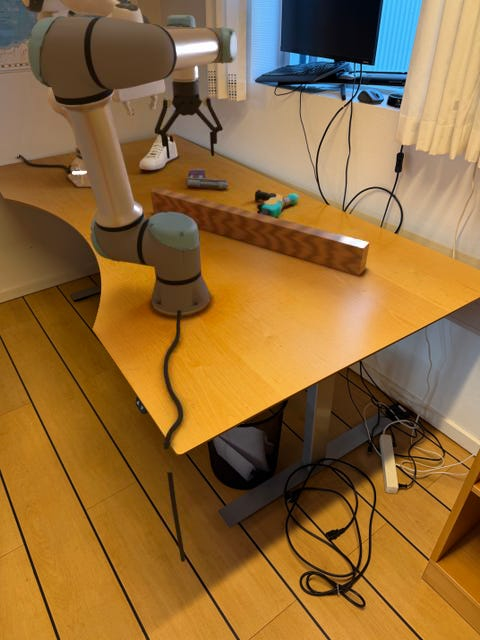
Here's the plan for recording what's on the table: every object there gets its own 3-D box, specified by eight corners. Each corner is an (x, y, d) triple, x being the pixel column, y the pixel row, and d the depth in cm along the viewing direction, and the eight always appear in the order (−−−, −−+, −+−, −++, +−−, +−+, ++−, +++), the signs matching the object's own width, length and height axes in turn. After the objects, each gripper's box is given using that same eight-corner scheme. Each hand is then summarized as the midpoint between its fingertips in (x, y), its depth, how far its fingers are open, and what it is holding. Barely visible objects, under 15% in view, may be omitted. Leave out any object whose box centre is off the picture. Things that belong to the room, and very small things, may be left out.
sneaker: (133, 173, 208) (129, 144, 201) (161, 153, 230) (158, 127, 223) (155, 175, 205) (151, 146, 198) (180, 155, 227) (178, 129, 220)
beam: (365, 269, 138) (369, 242, 133) (359, 275, 136) (363, 248, 130) (161, 210, 175) (159, 187, 170) (153, 214, 172) (150, 191, 167)
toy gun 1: (234, 179, 200) (226, 192, 189) (191, 176, 204) (181, 189, 192) (234, 170, 198) (226, 182, 186) (191, 167, 201) (180, 179, 189)
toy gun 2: (232, 207, 164) (271, 215, 159) (264, 184, 183) (300, 190, 177) (232, 219, 167) (271, 227, 161) (263, 195, 186) (299, 202, 180)
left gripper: (153, 60, 157) (159, 105, 165) (102, 68, 145) (111, 117, 153) (166, 61, 154) (171, 107, 162) (115, 70, 141) (123, 119, 149)
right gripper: (227, 76, 139) (228, 150, 151) (140, 79, 136) (149, 154, 148) (230, 80, 133) (232, 157, 145) (140, 83, 130) (149, 161, 142)
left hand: (142, 112), depth 157 cm, fingers open, 8 cm apart
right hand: (190, 156), depth 147 cm, fingers open, 13 cm apart
